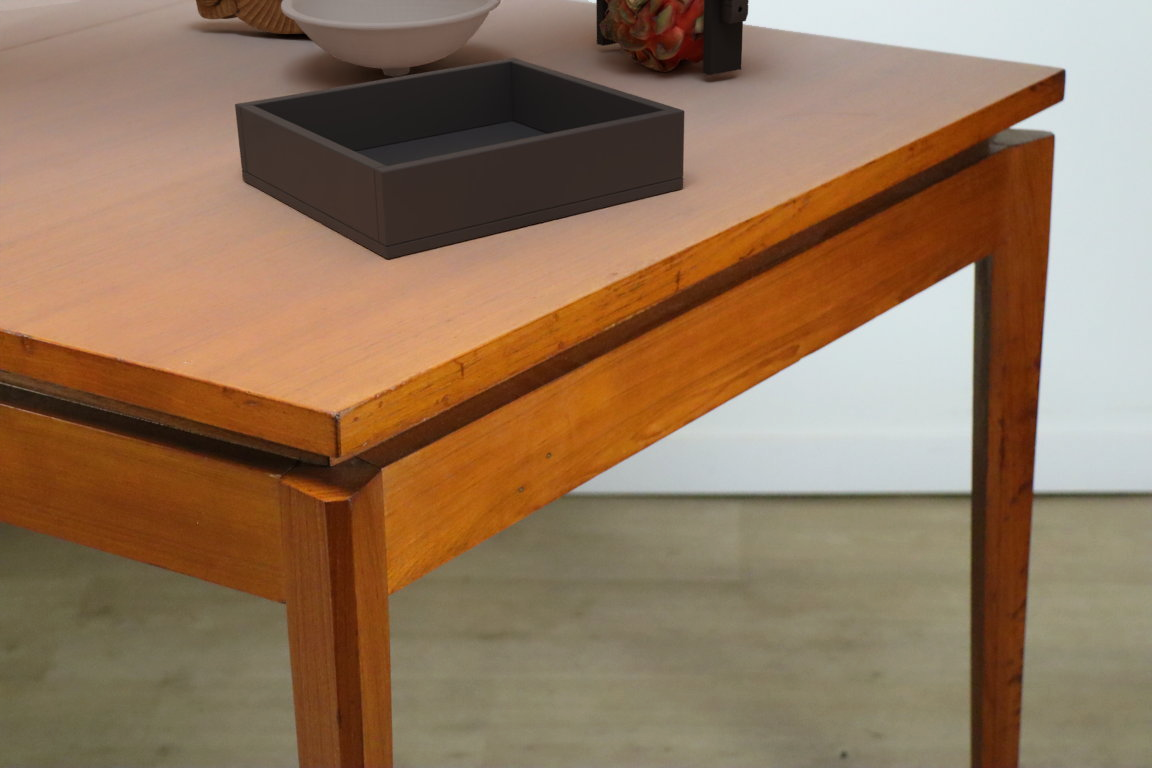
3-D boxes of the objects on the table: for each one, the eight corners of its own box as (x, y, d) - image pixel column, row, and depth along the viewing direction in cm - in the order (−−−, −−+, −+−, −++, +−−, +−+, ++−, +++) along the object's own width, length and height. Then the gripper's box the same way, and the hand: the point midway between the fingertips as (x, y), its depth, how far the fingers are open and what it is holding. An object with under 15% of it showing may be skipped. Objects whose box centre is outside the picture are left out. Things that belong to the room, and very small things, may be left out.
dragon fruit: (640, 110, 98) (664, 93, 110) (750, 34, 96) (763, 25, 107) (566, -1, 97) (598, -7, 109) (675, -81, 95) (696, -78, 106)
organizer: (242, 180, 80) (234, 103, 78) (515, 126, 89) (514, 57, 87) (387, 259, 69) (381, 171, 67) (683, 188, 78) (685, 110, 76)
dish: (302, 48, 110) (296, -23, 107) (501, 43, 110) (499, -27, 108) (272, 109, 94) (264, 27, 91) (505, 103, 94) (502, 22, 92)
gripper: (848, -298, 88) (826, 79, 97) (606, -298, 105) (607, 22, 114) (752, -296, 84) (738, 97, 93) (516, -296, 101) (524, 36, 110)
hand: (666, 56), depth 104 cm, fingers closed on dragon fruit, 11 cm apart
